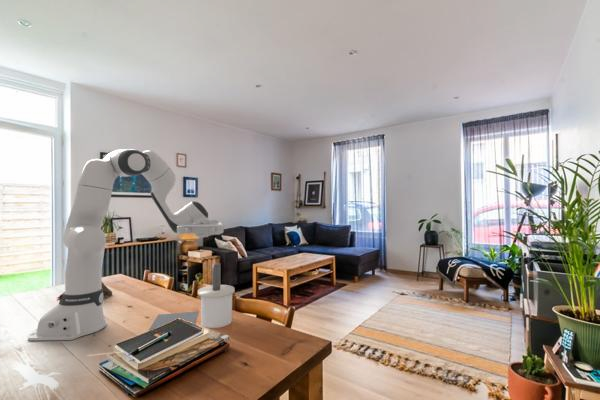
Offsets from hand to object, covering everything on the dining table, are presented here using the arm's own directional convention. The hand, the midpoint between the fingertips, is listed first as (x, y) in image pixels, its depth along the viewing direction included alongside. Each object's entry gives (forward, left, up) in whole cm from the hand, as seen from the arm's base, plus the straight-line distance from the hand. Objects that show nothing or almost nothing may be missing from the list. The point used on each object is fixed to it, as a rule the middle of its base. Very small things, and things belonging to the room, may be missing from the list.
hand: (199, 230), depth 129 cm
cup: (+8, -14, -35) cm, 39 cm away
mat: (-8, -9, -35) cm, 37 cm away
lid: (+8, -14, -23) cm, 28 cm away
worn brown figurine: (-50, +31, -35) cm, 69 cm away
